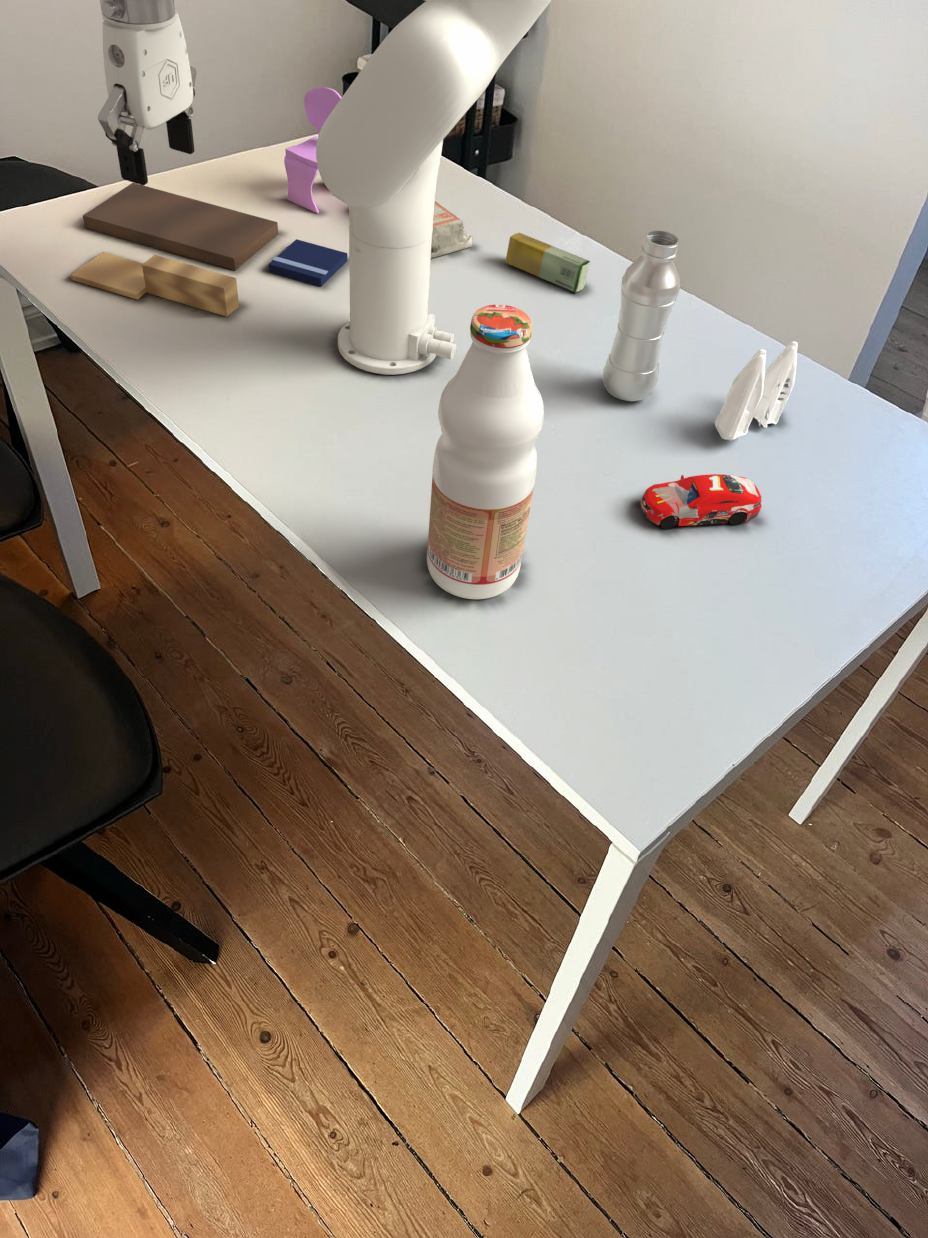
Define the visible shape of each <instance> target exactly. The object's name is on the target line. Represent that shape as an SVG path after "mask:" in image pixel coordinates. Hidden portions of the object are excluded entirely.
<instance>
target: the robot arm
mask: <svg viewBox="0 0 928 1238" xmlns="http://www.w3.org/2000/svg"><path fill="white" fill-rule="evenodd" d="M552 1H553V0H426V1H424V2H423V3H422V4H421V5H419V6H418V7H416V9H414V10H413V11H411V13H409V14H408V15H407V16H406V17H404V19H402V20H401V21H400V22H399V23H398V24H397V25H395V27H394V28H393V29H392V30H391V31H390V32H389V33H388V34H387V35H386V36H385V38H384V39H383V40H382V41H381V43H380V44H379V45H378V46H377V48H376V49H375V50H374V51H373V53H372V55H371V56H370V57H369V59H368V60H367V62H366V63H365V64H364V66H363V67H362V69H361V70H360V71H359V73H358V74H357V76H356V77H355V79H354V80H353V81H352V82H351V84H350V86H349V87H348V88H347V90H346V91H345V92H344V94H343V95H342V96H341V100H340V101H339V102H338V104H337V105H336V106H335V108H334V109H333V111H332V112H331V113H330V115H329V116H328V118H327V119H326V121H325V122H324V124H323V126H322V128H321V130H320V133H319V136H317V137H318V140H317V146H316V159H317V166H318V170H319V171H318V173H319V175H320V178H321V180H322V183H323V182H324V183H323V184H324V185H325V187H326V188H327V190H328V191H329V192H330V193H331V194H332V196H334V197H335V198H336V199H337V200H338V201H341V202H342V203H344V204H346V205H349V206H348V207H349V210H348V239H349V240H348V248H349V249H348V251H349V252H348V253H349V254H348V255H349V257H348V258H349V259H348V261H349V262H348V263H349V265H348V266H349V268H348V269H349V321H348V322H347V323H345V324H344V325H343V326H342V327H341V329H339V332H338V334H337V348H338V349H337V350H338V351H339V354H340V355H341V356H342V358H343V359H344V360H345V361H347V362H348V363H349V364H350V365H352V366H354V367H355V368H357V369H360V370H362V371H365V372H367V373H372V374H373V373H374V374H378V375H388V376H389V375H392V376H393V375H394V376H395V375H405V374H410V373H413V372H416V371H419V370H421V369H423V368H425V367H427V366H428V365H430V364H431V363H432V362H433V361H434V360H435V358H436V356H438V357H442V358H443V359H448V360H451V361H453V359H454V358H455V356H456V353H457V344H456V343H454V340H455V334H454V333H453V332H448V331H443V330H440V329H438V327H436V326H435V322H436V315H435V314H433V313H429V312H428V311H429V295H430V278H431V277H430V276H431V259H432V258H431V242H432V232H433V215H434V202H435V201H436V200H435V199H436V191H437V182H438V175H439V170H440V165H441V157H442V152H443V144H444V140H445V138H446V137H447V136H448V135H449V134H450V132H451V131H452V130H453V129H454V128H455V126H456V125H457V124H458V123H459V121H460V120H462V118H463V117H464V116H465V114H466V113H467V112H468V111H469V110H470V108H472V106H473V105H474V104H475V103H476V101H477V100H478V99H479V98H480V97H481V96H482V94H483V93H484V92H485V91H486V89H487V88H488V87H489V85H490V83H491V82H492V80H493V78H494V76H495V75H496V73H497V72H498V70H499V68H501V66H502V64H503V63H504V62H505V60H506V59H507V58H508V56H509V55H510V54H511V53H512V51H513V50H514V49H515V47H516V46H517V45H518V44H519V43H520V42H521V40H522V39H523V38H524V36H526V34H527V33H528V32H529V30H530V29H531V28H532V27H533V26H534V24H535V23H536V22H537V20H538V19H539V17H540V16H541V15H542V13H543V12H544V11H545V10H546V8H547V7H548V6H549V5H550V3H551V2H552ZM99 4H100V10H101V11H100V12H101V17H102V20H103V21H102V54H103V66H104V67H103V68H104V76H105V85H106V92H107V99H106V101H105V103H104V105H103V106H102V108H101V110H99V113H98V115H97V120H98V122H99V124H100V125H101V128H102V129H103V131H104V133H105V138H107V139H108V140H109V141H110V142H111V144H112V145H113V146H115V147H116V152H117V158H118V164H119V171H120V177H121V178H122V180H124V181H127V182H130V183H136V184H140V185H143V186H146V185H147V184H148V182H149V178H148V171H147V164H146V159H145V158H146V157H145V150H144V148H142V147H140V144H141V140H142V137H143V133H144V129H146V130H154V129H156V128H158V127H160V126H161V125H163V124H165V125H166V133H167V140H168V141H167V142H168V147H169V148H170V149H172V150H174V151H177V152H181V153H184V154H188V155H192V154H194V153H195V142H194V134H193V124H192V123H193V122H192V117H193V116H194V107H193V102H194V99H195V96H196V90H195V85H196V78H197V77H196V76H197V69H196V68H195V67H193V66H191V65H190V58H189V54H188V47H187V42H186V37H185V33H184V30H183V29H184V28H183V25H182V22H181V19H180V16H179V13H178V11H177V10H176V8H175V0H99ZM127 126H128V127H129V126H130V127H132V129H131V132H130V135H129V134H128V133H127V132H126V128H127Z"/></svg>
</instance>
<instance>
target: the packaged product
mask: <svg viewBox="0 0 928 1238" xmlns="http://www.w3.org/2000/svg"><path fill="white" fill-rule="evenodd" d="M464 228H465V226H464V222H463V219H461V218H459V217H458V216H456V215H455V214H454V213H453V212H451V211H450V210H448V209H447V208H445V207H444V206H442V205H441V204H440V203H439V202H437V201H436V200H435V202H434V215H433V232H432V242H431V259H433V258H436V257H440V256H444V255H447V254H452V253H454V252H458V251H461V250H465V249H469V248H470V247H473V235H469V234H468V232H467V231H464Z"/></svg>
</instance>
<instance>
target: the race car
mask: <svg viewBox="0 0 928 1238" xmlns="http://www.w3.org/2000/svg"><path fill="white" fill-rule="evenodd" d="M756 485H757V484H756V483H755V482H754V481H753V480H751V479H749V478H747V477H745V476H737V475H732V474H720V473H719V474H718V473H717V474H716V473H713V474H710V473H709V474H698V475H691V476H687V477H685V476H684V474H681V475H680V479H677V480H674V481H667V482H661V483H654V484H652V485H650V486H649V487H647V489H646V490H645V491H644V493H643V495H642V496H641V500H640V503H639V505H640V510H641V513H642V514H643V515H644V517H645V518H646V519H647V520H648V521H650V522H652V523H653V524H655V525H657V526H661V528H662V529H664V530H670V529H673V528H674V527H676V526H678V527H683V526H684V527H685V526H701V525H717V524H718V525H720V524H728V523H729V524H730V525H732V526H737V525H740V524H742V523H744V522H749V521H752V520H754V519H755V518H757V517H758V516H759V514H760V512H761V509H762V496H761V495H762V494H761V493H760V490H759V488H758V487H757V486H756Z"/></svg>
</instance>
